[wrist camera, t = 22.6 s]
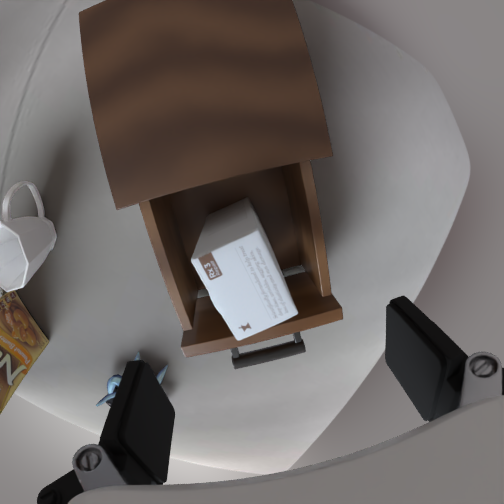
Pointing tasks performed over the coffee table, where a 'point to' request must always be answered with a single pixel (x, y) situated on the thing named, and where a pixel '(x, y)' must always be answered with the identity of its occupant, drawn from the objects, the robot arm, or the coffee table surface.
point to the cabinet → (198, 92)
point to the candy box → (16, 344)
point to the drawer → (282, 242)
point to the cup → (23, 241)
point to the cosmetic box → (242, 271)
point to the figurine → (116, 380)
